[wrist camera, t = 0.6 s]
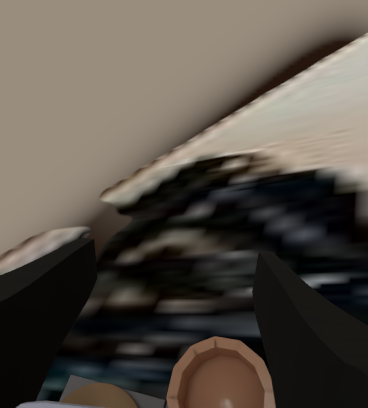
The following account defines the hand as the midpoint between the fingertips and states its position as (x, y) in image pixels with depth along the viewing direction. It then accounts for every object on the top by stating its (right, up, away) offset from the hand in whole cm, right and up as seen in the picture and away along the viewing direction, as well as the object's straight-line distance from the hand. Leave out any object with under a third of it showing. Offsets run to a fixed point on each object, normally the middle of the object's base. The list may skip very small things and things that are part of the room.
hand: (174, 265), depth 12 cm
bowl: (+4, -13, +11) cm, 18 cm away
